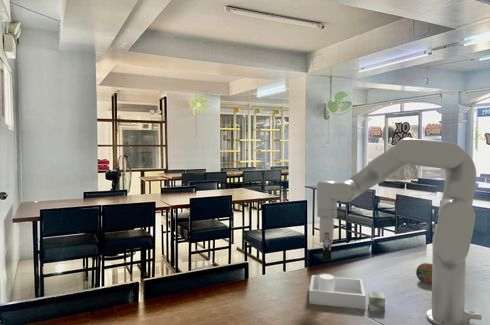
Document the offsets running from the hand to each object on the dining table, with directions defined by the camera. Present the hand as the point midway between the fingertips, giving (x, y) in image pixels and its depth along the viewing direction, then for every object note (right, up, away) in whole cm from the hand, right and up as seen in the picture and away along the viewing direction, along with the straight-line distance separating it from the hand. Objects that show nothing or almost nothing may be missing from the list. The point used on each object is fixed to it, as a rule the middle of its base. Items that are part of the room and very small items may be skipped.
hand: (327, 256), depth 135 cm
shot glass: (0, -15, +1) cm, 16 cm away
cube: (+16, -17, -9) cm, 25 cm away
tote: (+4, -16, 0) cm, 16 cm away
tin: (+49, -15, +12) cm, 53 cm away
